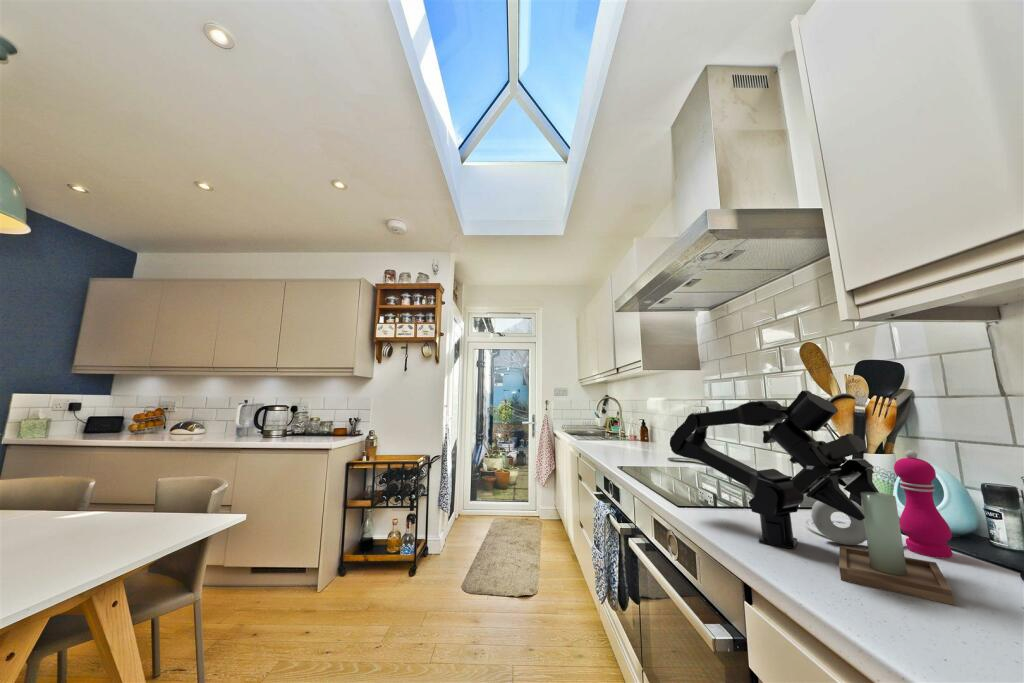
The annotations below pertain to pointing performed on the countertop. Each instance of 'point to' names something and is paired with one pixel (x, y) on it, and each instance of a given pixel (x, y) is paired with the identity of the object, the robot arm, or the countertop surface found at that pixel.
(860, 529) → the donut
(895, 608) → the countertop surface
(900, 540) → the sage cylinder
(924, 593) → the walnut tray
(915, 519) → the pepper mill
